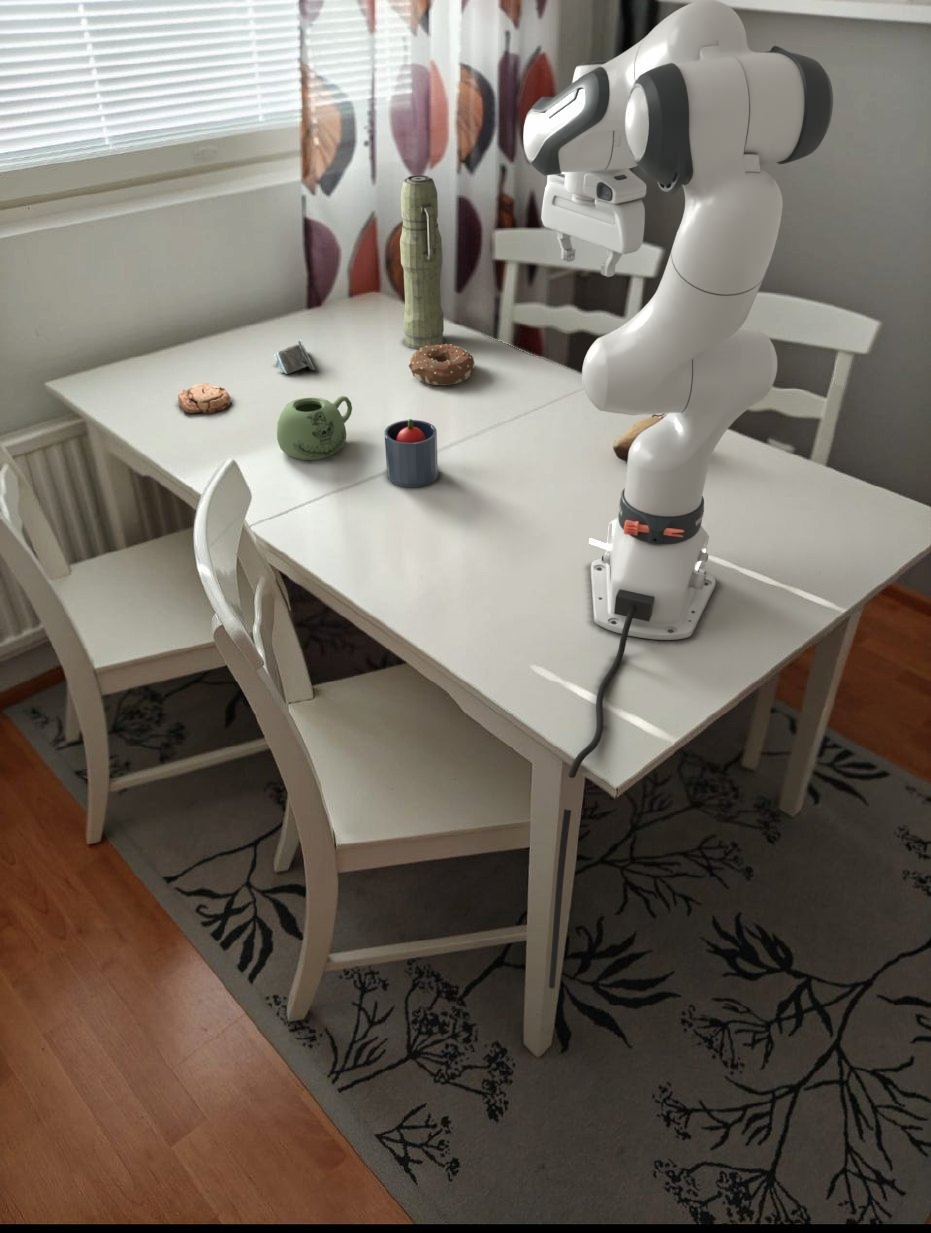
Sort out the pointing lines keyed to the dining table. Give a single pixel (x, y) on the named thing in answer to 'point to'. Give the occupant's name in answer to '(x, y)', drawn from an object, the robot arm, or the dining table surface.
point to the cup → (411, 456)
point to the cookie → (204, 399)
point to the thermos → (421, 263)
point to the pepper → (410, 434)
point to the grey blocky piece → (293, 358)
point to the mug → (312, 428)
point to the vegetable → (633, 436)
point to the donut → (442, 364)
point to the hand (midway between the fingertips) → (587, 267)
